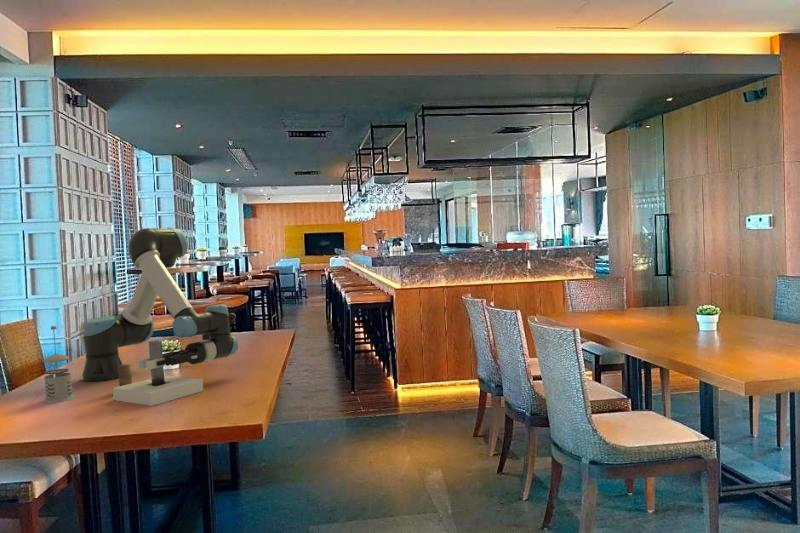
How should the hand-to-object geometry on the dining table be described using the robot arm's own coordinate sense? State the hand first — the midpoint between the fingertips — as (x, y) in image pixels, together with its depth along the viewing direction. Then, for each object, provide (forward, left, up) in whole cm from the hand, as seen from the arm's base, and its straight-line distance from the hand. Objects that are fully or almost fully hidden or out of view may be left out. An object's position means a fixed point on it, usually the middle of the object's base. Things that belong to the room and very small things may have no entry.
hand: (142, 365), depth 209 cm
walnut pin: (-18, +5, -11) cm, 22 cm away
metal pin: (0, +5, -9) cm, 10 cm away
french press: (-32, -11, -11) cm, 36 cm away
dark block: (-47, +73, -11) cm, 88 cm away
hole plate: (0, +5, -11) cm, 13 cm away
